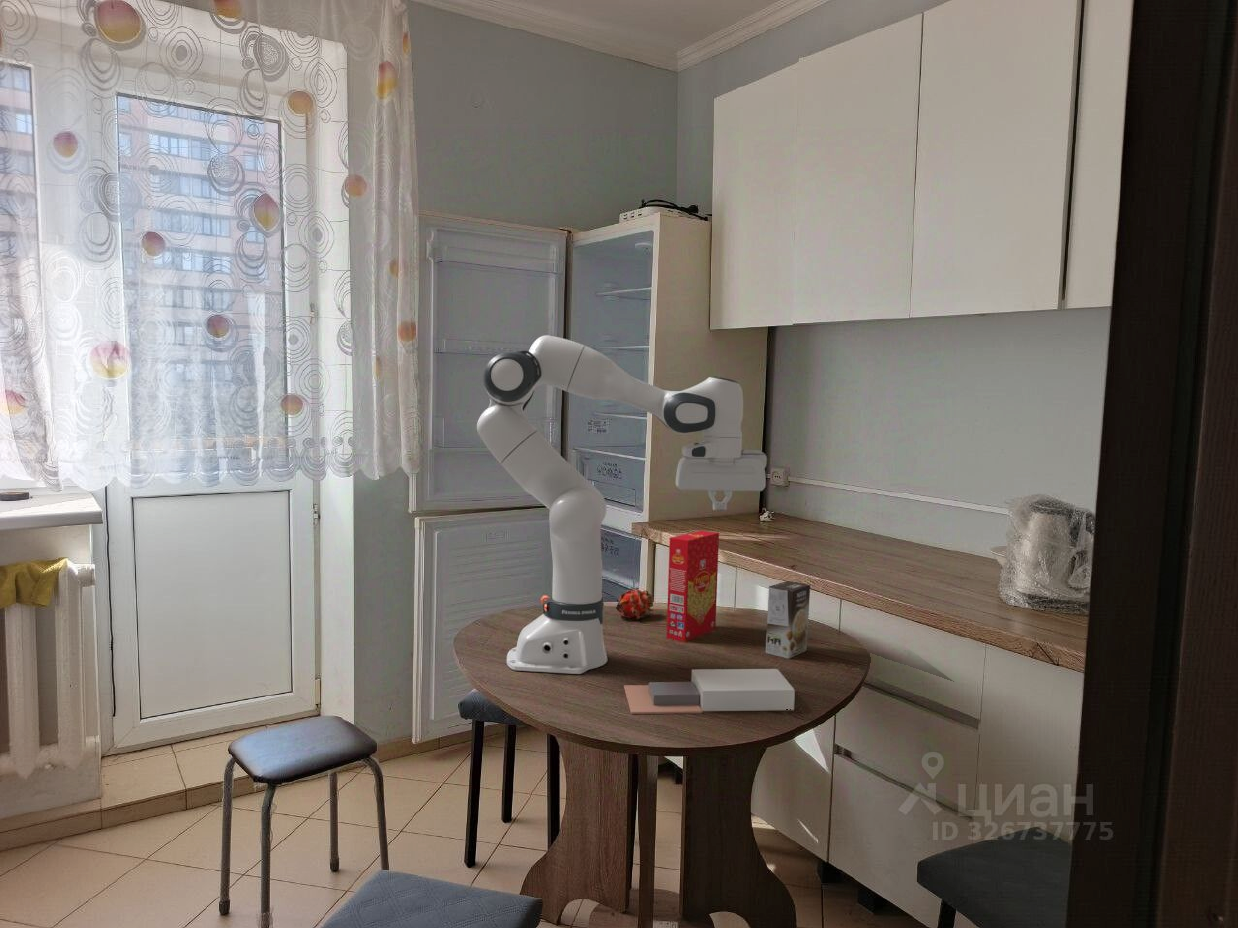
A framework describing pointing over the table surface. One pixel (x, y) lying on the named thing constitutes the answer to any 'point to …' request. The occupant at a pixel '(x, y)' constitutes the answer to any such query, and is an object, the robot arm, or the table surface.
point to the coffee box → (787, 619)
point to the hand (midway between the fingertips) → (719, 510)
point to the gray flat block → (673, 693)
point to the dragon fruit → (634, 604)
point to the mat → (643, 703)
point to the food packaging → (692, 585)
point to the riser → (743, 689)
